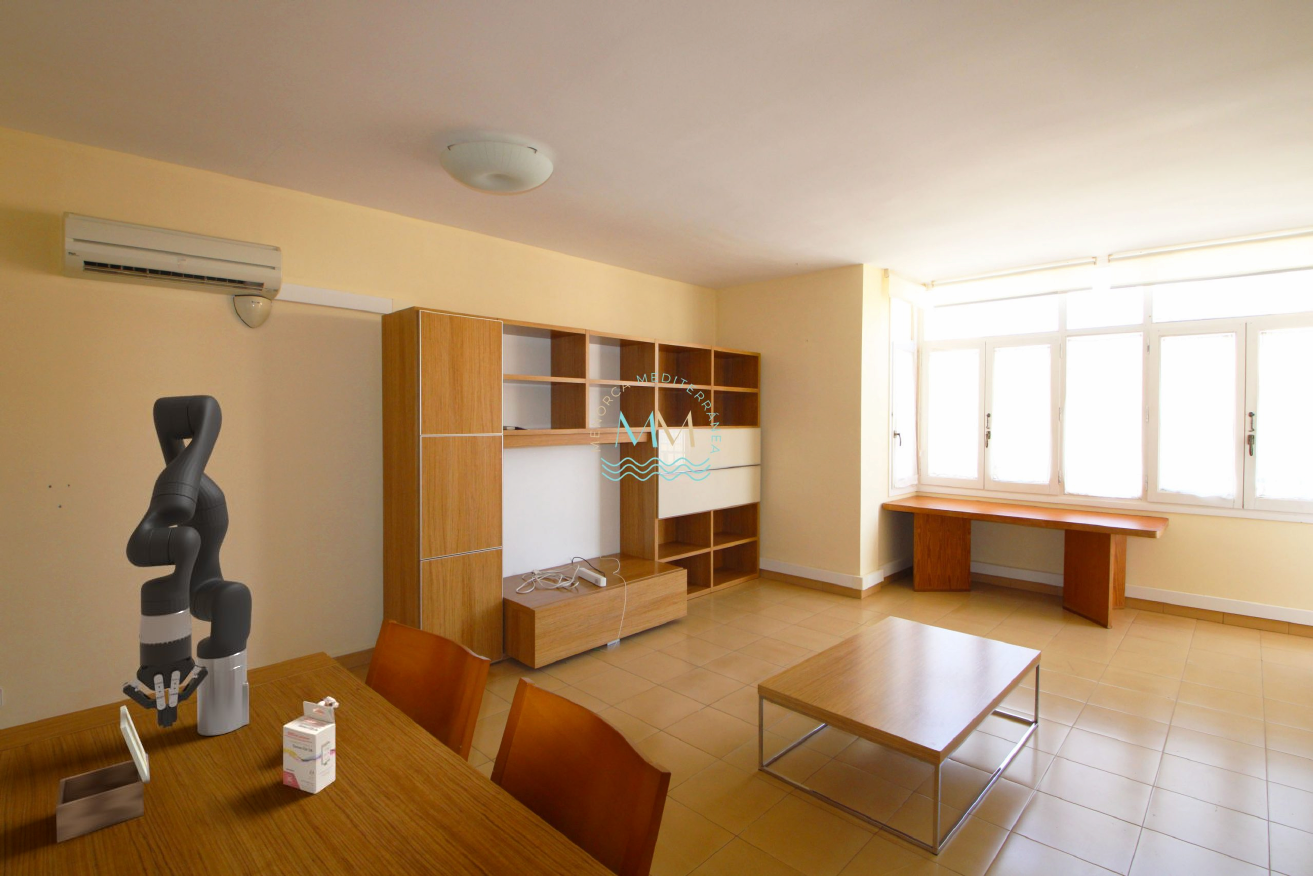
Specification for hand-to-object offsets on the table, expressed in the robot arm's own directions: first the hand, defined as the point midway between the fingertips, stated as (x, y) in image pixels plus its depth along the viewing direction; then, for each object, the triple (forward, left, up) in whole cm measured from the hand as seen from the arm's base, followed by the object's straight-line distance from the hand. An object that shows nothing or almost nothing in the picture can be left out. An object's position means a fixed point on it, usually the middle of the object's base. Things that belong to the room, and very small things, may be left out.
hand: (167, 725), depth 114 cm
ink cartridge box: (-21, +13, -13) cm, 28 cm away
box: (+9, 0, -13) cm, 16 cm away
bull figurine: (-25, -2, -13) cm, 28 cm away
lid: (+5, 0, -2) cm, 5 cm away
